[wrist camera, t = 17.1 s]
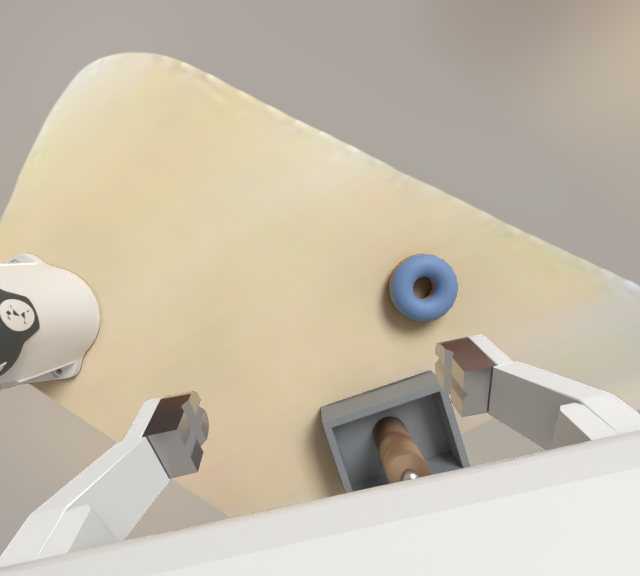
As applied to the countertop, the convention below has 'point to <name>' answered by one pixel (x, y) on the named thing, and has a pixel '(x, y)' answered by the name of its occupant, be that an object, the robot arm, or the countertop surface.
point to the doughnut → (438, 297)
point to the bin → (412, 409)
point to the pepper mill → (398, 451)
